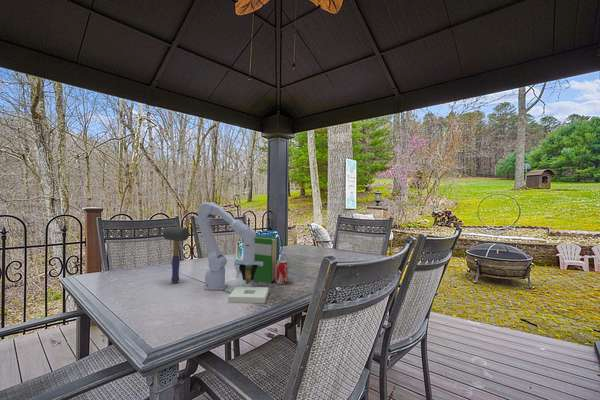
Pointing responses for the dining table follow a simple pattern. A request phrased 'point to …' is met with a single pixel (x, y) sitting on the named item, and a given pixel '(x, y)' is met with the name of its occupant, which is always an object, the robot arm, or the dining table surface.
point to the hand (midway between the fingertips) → (248, 279)
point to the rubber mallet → (175, 247)
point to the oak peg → (248, 275)
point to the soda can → (281, 272)
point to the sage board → (248, 295)
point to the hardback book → (265, 258)
